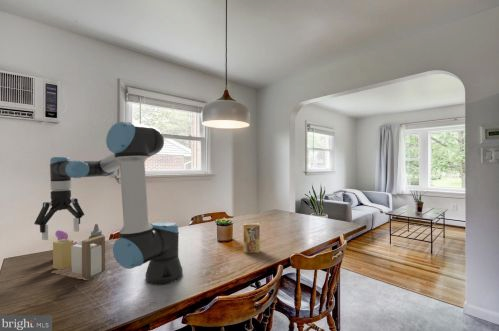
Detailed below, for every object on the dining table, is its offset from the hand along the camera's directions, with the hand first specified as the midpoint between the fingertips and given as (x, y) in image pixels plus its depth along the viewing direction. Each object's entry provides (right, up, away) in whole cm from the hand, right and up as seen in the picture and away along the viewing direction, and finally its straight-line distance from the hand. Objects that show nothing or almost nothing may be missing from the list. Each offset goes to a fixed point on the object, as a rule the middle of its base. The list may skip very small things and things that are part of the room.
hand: (61, 235), depth 112 cm
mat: (+12, -15, -4) cm, 20 cm away
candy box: (+89, -15, +21) cm, 93 cm away
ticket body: (+15, -15, -5) cm, 22 cm away
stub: (+1, -15, 0) cm, 15 cm away
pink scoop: (-7, -15, +12) cm, 21 cm away
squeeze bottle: (+10, -15, +10) cm, 21 cm away
